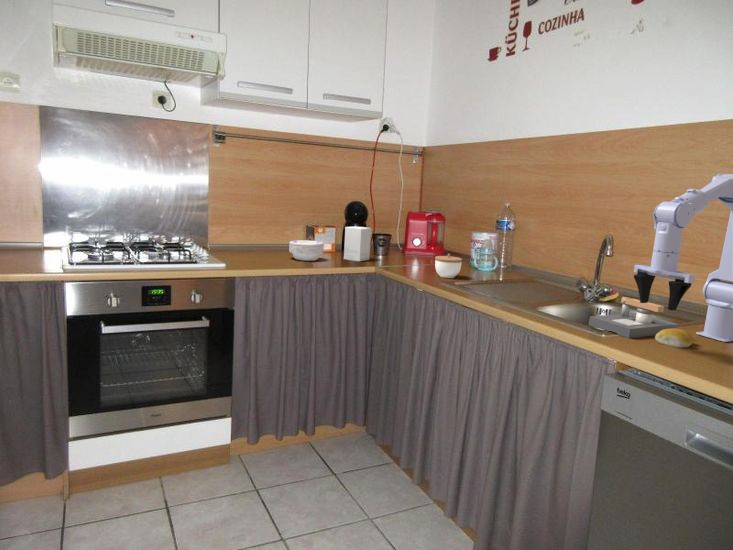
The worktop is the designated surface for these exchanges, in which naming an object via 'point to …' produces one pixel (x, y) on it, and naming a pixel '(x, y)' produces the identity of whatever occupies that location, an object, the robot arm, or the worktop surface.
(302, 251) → the paper bowls
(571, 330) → the worktop surface
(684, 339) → the bread roll
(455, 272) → the lidded jar
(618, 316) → the socket panel
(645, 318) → the plug
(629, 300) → the tan long bar
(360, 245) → the supplement box
